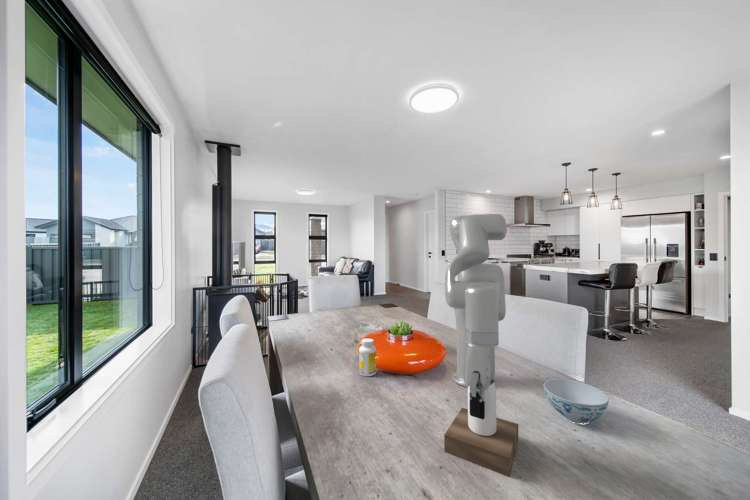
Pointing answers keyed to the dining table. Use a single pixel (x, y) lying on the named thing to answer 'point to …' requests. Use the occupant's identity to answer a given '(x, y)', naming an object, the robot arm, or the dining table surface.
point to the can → (489, 422)
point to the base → (483, 444)
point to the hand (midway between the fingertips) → (482, 407)
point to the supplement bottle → (367, 358)
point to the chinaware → (576, 400)
